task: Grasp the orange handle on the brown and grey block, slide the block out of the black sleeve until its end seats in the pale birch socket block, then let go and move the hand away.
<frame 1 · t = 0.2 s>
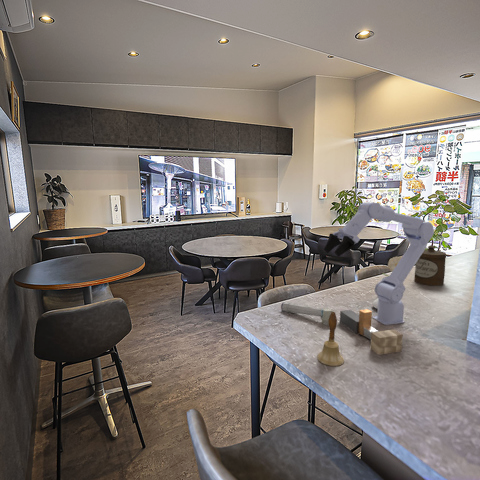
hand: (330, 252, 113), 31 cm above the table, tool tilted 45°, fingers open, 7 cm apart
sleeve: (352, 326, 119), on the table
brown and grey block: (360, 319, 114), point 5 cm above the table, slide at 0.0 cm
hand bell: (330, 359, 96), on the table
flower in vase: (387, 309, 136), on the table
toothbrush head: (307, 318, 129), on the table
wooden container: (428, 282, 177), on the table
socket block: (385, 350, 101), on the table
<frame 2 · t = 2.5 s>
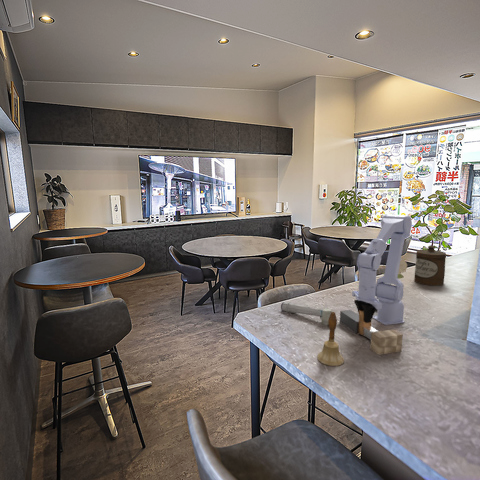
hand: (365, 320, 111), 6 cm above the table, tool pointing down, fingers closed on brown and grey block, 2 cm apart
brown and grey block: (360, 319, 114), point 5 cm above the table, slide at 0.0 cm, touching gripper
everything else where it was.
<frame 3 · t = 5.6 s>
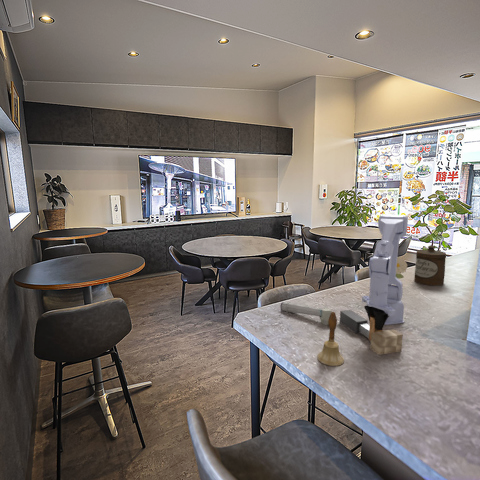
hand: (376, 327, 106), 6 cm above the table, tool pointing down, fingers closed on brown and grey block, 3 cm apart
brown and grey block: (371, 326, 108), point 5 cm above the table, slide at 6.0 cm, touching gripper
everything else where it was.
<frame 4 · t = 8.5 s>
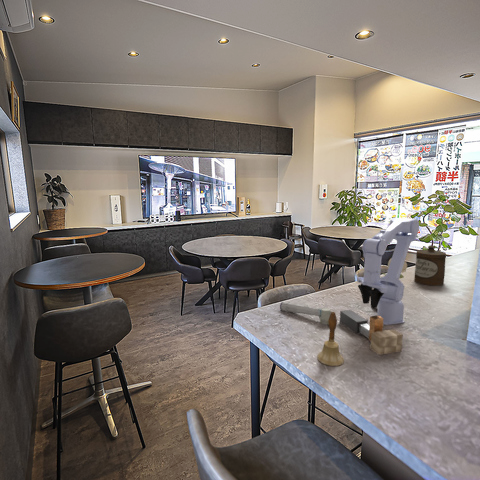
hand: (369, 305, 114), 10 cm above the table, tool pointing down, fingers open, 4 cm apart
brown and grey block: (371, 326, 108), point 5 cm above the table, slide at 6.0 cm
everything else where it was.
at the end: brown and grey block slide at 6.0 cm; the gripper is holding nothing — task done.
